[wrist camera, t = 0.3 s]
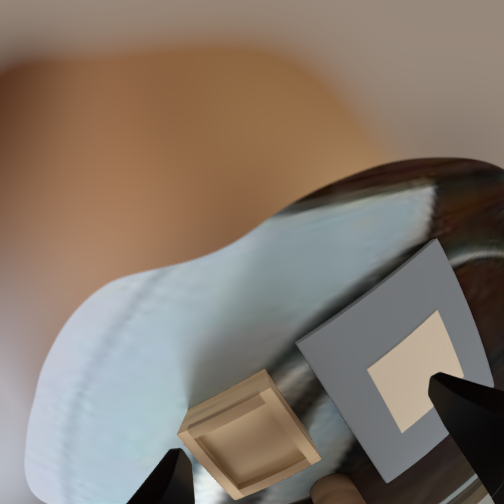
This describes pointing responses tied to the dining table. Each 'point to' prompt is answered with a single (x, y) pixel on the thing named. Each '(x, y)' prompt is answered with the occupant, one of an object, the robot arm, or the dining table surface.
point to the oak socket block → (248, 437)
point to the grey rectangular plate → (398, 358)
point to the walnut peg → (335, 490)
